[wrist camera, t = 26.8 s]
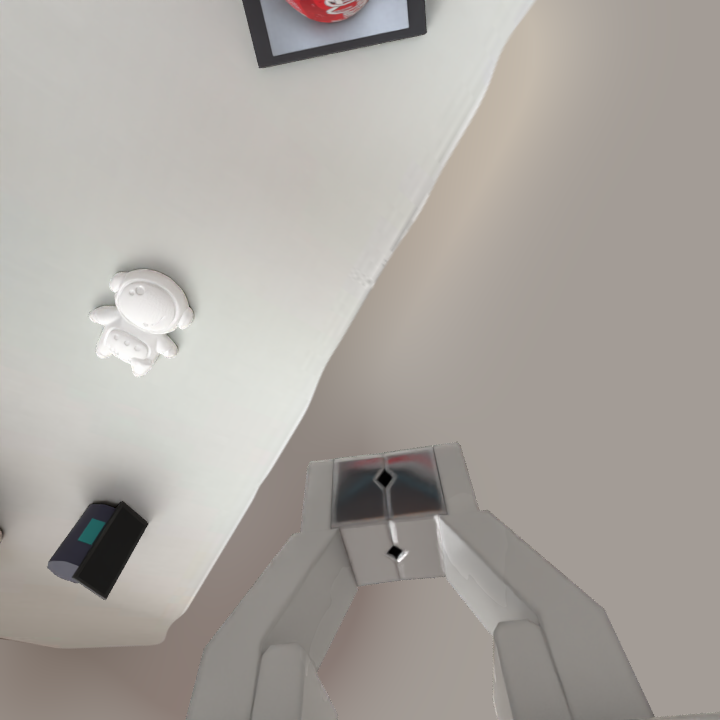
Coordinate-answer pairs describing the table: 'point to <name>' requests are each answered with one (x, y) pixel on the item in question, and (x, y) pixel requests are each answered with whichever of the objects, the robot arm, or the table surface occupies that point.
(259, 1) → the coffee maker
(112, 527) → the speaker
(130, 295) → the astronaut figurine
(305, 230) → the table surface
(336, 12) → the soda can
